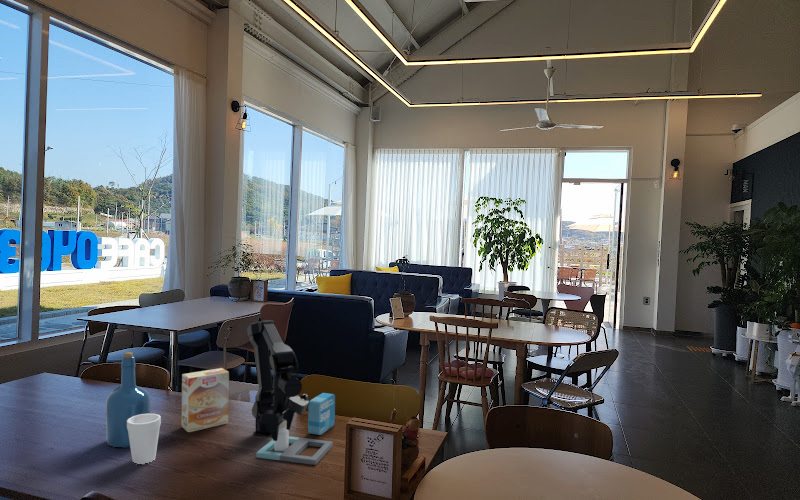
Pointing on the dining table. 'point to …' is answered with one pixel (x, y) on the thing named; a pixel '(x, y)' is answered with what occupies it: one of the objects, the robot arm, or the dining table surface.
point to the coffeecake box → (205, 399)
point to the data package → (321, 413)
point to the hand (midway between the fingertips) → (281, 435)
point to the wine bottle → (125, 404)
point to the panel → (296, 451)
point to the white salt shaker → (282, 438)
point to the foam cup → (143, 437)
